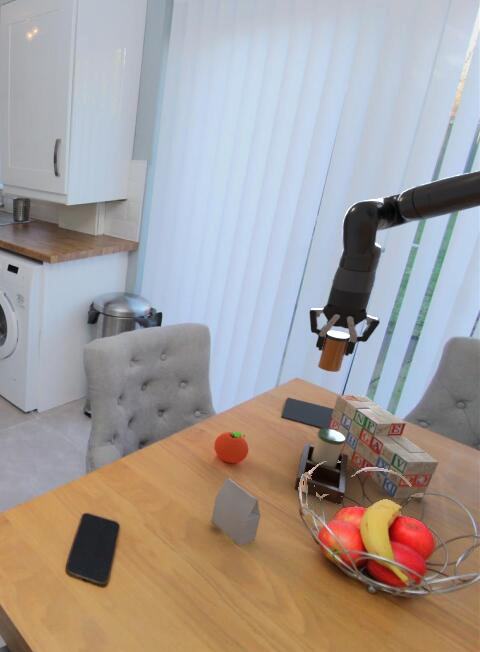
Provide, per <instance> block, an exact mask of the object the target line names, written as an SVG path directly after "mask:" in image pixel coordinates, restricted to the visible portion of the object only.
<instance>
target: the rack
mask: <svg viewBox="0 0 480 652" xmlns="http://www.w3.org/2000/svg"><path fill="white" fill-rule="evenodd" d="M314 446H315V444H314V445H313V444H311V443H307V442H305V443H304V445H303V449H302V452H301V456H300V461H299V466H298V469H297V474H296V479H295V483H294V487H293V490H295V491H298V487H299V482H300V479H301V476H302V474H304V473H305V472H308V471H309V470H311V469H312V468H313V467H315V466H316V465H317V464H318V463H315V462H312V461H310V460H311V457H312V453H313V450H314ZM348 459H349V458H348V455H345V454H343V453H342V452H340V455H339V459H338V460H339V461H341V463H337V465H336V468H335V469H334V468H331V467H328V466H325V465H319V466H318V467H317V468H316V469H315V470H314V471H313V473H312V474H311V475H312V476H311V478H312V480H311V479H308V478H307V485H308V494H307V495H309V496H312V497H315V498H317V497H316V492H317V493H318V494H319V495H320V496H322V495H323V494H329V495H327V496H325V497H323V499H322V500H324V501H326V502H329V503H333V504H336V503H337V504H336V505H338V504H341V505H342V504H343V503H342V502H343V500H344V497H345V494H346V481H347V469H348V461H349V460H348ZM346 464H347V465H346ZM303 485H304V481H303ZM314 485H315V487H314ZM298 492H299V491H298ZM341 496H343V497H341Z"/></svg>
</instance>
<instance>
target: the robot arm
mask: <svg viewBox="0 0 480 652" xmlns="http://www.w3.org/2000/svg"><path fill="white" fill-rule="evenodd" d="M477 207H480V170H475V171H472V172H471V171H470V172H467V173H461V174H457V175H453V176H448V177H445V178H440V179H437V180H434V181H430V182H427V183H423V184H420V185H417V186H413V187H411V188H408V189H406V190H404V191H402V192H400V193H397V194H393V195H390V196H384V197H381V198H375V199H367V200H361V201H358V202H356V203H354V204H353V205H351V206H350V207H349V208H348V209H347V211H346V213H345V215H344V218H343V222H342V247H343V248H342V252H341V255H340V259H339V262H338V266H337V268H336V271H335V274H334V276H333V279H332V284H331V287H330V291H329V295H328V298H327V299H328V300H327V303H326V304H325V306H323V308H322V307H320V308H317V307H314V306H313V307H311V308H310V309H309V324H310V332H311V333H312V334H316V335H317V340H316V344H315V347H316V348H317V350H318V351H320V352H321V351H322V348H323V344H324V340H325V337H326V336H325V335H326V333H327V332H328V331H331V329H332V328H333V327H334V328H343V329H347V330H348V333H349V334H348V335H350V340H349V341H348V345H347V348H346V351H345V355H344V356H345V357H348V356H350V355H352V354H353V353H354V351H355V348H356V344H357V343H358V342H361V343H366V342H367V341H368V340H369V339H370V337H371V336H372V335H373V333H374V332H375V330H376V329H377V328H378V326H379V325H380V321H381V320H380V318H379V317H378V316H371V315H369V314H368V313H367V308H368V304H369V301H370V298H371V295H372V291H373V288H374V285H375V281H376V273H377V270H378V267H379V266H378V265H379V263H380V260H381V256H382V251H383V248H382V246H381V245H380V244H378V243H377V242H376V241H377V233H378V232H379V231H383V230H388V229H392V228H395V227H399V226H403V225H405V224H409V223H412V222H419V221H424V220H429V219H432V218H437V217H441V216H442V217H443V216H445V215H450V214H453V213H457V212H461V211H465V210H469V209H473V208H477ZM321 314H323V315H324V317H325V318H326V320H327V321H326V322H325V323H324V325H322V327H319V325H318V318H320V316H321ZM363 321H366V323H365V324H366V328H365V329H364V330H363V332H362V333H361V334H358V332H357V325H359V324H360V323H362V322H363Z"/></svg>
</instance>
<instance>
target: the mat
mask: <svg viewBox="0 0 480 652" xmlns="http://www.w3.org/2000/svg"><path fill="white" fill-rule="evenodd" d="M333 410H334V408H332V407H328V406H324V405H320V404H316V403H312V402H308V401H303V400H300V399H296V398H293V397H292V398H291V397H287V398H286V401H285V404H284V407H283V410H282V414H281V419H285V420H288V421H292V422H296V423H299V424H303V425H307V426H311V427H314V428H318V429H328V428H329V426H330V422H331V418H332V413H333Z"/></svg>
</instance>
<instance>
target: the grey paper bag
mask: <svg viewBox="0 0 480 652" xmlns="http://www.w3.org/2000/svg"><path fill="white" fill-rule="evenodd" d="M260 520H261V512H260V508H259V500H258V499H257V498H256V497H254V496H253V495H252V494H251V493H249V492H248V491H247V490H245V488H243V487H242V486H240V485H239V484H237V483H236V482H235V481H234V480H233V479H231V478H230V477H226V478H225V480H224V483H222V485H221V487H220V489H219V491H218V493H217V494H216V495H215V498H214V505H213V509H212V515H211V519H210V521H211V522H212V523H213V524H215V525H216V527H217V528H218V529H220V530H221V531H222V533H224V534H225V535H227V537H229V538H230V539H231V540H232V541H233V542H234V544H237V546H239V547H241V546H243V545H246V544H248V543H252V542H254V541H255V540H256V536H257V532H258V529H259V524H260Z"/></svg>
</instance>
